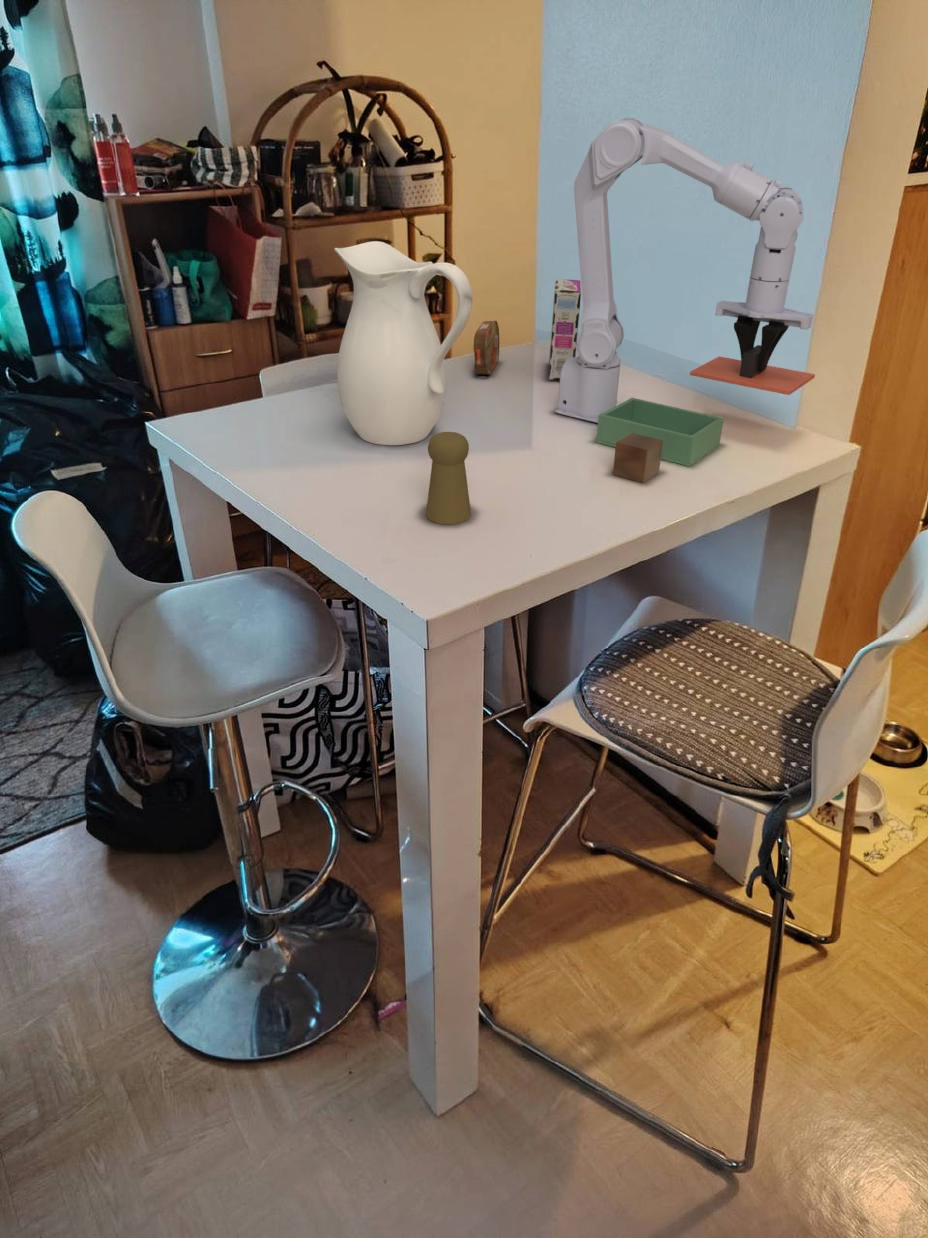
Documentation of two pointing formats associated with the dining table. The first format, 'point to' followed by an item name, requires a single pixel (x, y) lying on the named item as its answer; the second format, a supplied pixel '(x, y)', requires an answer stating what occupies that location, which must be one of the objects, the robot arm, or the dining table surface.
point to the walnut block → (637, 457)
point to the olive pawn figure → (448, 479)
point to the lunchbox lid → (753, 373)
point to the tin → (486, 347)
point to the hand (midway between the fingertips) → (753, 368)
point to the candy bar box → (564, 325)
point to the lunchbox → (662, 429)
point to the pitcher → (394, 344)
